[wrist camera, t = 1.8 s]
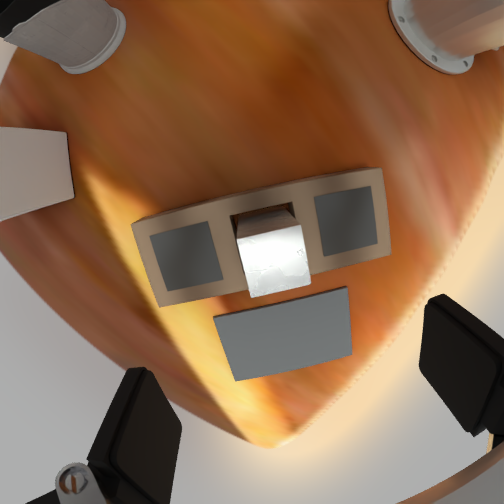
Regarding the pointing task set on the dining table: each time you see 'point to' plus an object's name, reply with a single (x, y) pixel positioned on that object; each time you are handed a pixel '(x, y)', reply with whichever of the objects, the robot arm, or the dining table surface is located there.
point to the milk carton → (33, 170)
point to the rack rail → (222, 208)
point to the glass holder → (64, 30)
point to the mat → (286, 334)
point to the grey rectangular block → (272, 251)
